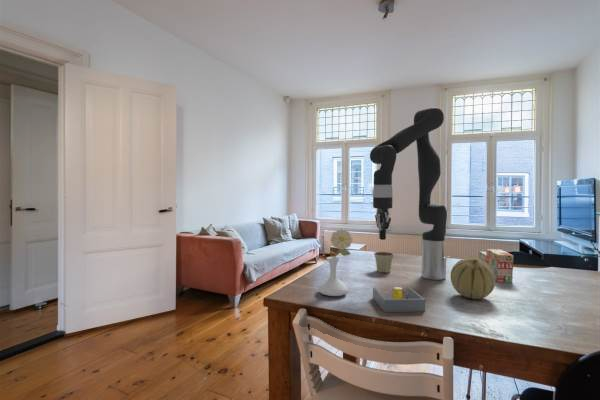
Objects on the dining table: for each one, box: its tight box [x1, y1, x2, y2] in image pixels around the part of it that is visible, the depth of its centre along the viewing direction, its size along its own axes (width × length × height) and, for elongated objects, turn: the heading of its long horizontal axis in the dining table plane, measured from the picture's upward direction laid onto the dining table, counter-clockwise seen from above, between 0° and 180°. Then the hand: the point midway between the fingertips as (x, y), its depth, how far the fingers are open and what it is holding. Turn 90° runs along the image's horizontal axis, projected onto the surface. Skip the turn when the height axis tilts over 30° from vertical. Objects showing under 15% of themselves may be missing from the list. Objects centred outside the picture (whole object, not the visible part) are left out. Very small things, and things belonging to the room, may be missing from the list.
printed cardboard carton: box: [478, 248, 514, 284], centre depth 143 cm, size 21×6×12 cm, turn 169°
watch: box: [393, 286, 404, 299], centre depth 107 cm, size 6×3×6 cm, turn 178°
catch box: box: [372, 286, 426, 313], centre depth 107 cm, size 14×13×4 cm
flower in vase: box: [317, 228, 353, 297], centre depth 117 cm, size 13×11×25 cm
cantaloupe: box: [450, 257, 496, 300], centre depth 114 cm, size 15×15×15 cm
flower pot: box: [373, 251, 395, 274], centre depth 150 cm, size 9×9×9 cm
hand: (382, 239), depth 124 cm, fingers closed
